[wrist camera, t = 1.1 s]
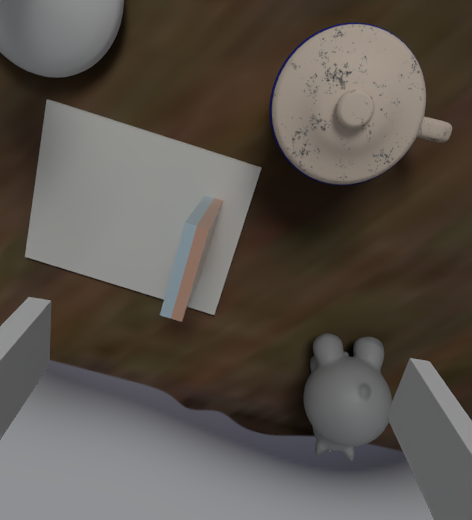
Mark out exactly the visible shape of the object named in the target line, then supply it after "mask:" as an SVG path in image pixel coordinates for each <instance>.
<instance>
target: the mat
mask: <svg viewBox="0 0 472 520" xmlns="http://www.w3.org/2000/svg"><path fill="white" fill-rule="evenodd" d="M261 168H262V167H259V166H255V165H252V164H249V163H246V162H243V161H240V160H237V159H234V158H230V157H227V156H224V155H221V154H218V153H215V152H212V151H209V150H205V149H202V148H199V147H196V146H193V145H190V144H187V143H184V142H180V141H177V140H174V139H171V138H168V137H165V136H162V135H159V134H156V133H152V132H149V131H146V130H143V129H140V128H137V127H134V126H131V125H127V124H124V123H121V122H118V121H115V120H112V119H109V118H106V117H102V116H99V115H96V114H93V113H90V112H87V111H84V110H81V109H77V108H74V107H71V106H68V105H65V104H62V103H59V102H56V101H52V100H46V108H45V115H44V122H43V130H42V137H41V144H40V151H39V159H38V166H37V173H36V181H35V188H34V195H33V202H32V210H31V217H30V224H29V231H28V239H27V246H26V253H25V257H27V258H31V259H34V260H37V261H40V262H44V263H47V264H50V265H53V266H57V267H60V268H63V269H66V270H70V271H73V272H76V273H79V274H83V275H86V276H89V277H92V278H96V279H99V280H102V281H105V282H109V283H112V284H115V285H118V286H121V287H125V288H128V289H131V290H134V291H138V292H141V293H144V294H147V295H151V296H154V297H157V298H160V299H164V298H165V294H166V291H167V287H168V283H169V280H170V276H171V272H172V269H173V265H174V261H175V257H176V254H177V250H178V246H179V243H180V239H181V235H182V232H183V228H184V224H185V222H186V220H187V219H188V217H189V216H190V215H191V213H192V212H193V211H194V209H195V208H196V207H197V205H198V204H199V203H200V201H201V200H202V198H203V197H204V196H205V195H207V196H210V197H213V198H216V199H220V200H223V204H222V207H221V210H220V214H219V217H218V220H217V224H216V227H215V231H214V234H213V237H212V241H211V244H210V247H209V251H208V254H207V257H206V261H205V264H204V267H203V271H202V274H201V277H200V279H199V282H198V284H197V286H196V289H195V291H194V294H193V296H192V299H191V301H190V303H189V306H188V307H190V308H193V309H196V310H199V311H203V312H206V313H209V314H212V315H214V314H215V311H216V308H217V305H218V302H219V299H220V296H221V293H222V289H223V286H224V283H225V280H226V277H227V274H228V271H229V268H230V265H231V261H232V258H233V255H234V252H235V249H236V246H237V243H238V240H239V237H240V233H241V230H242V227H243V224H244V221H245V218H246V215H247V212H248V209H249V205H250V202H251V199H252V196H253V193H254V190H255V187H256V184H257V181H258V177H259V174H260V171H261Z"/></svg>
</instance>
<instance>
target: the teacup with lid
mask: <svg viewBox="0 0 472 520" xmlns="http://www.w3.org/2000/svg"><path fill="white" fill-rule="evenodd" d="M425 107H426V87H425V81H424V77H423V73H422V70H421V68H420V65H419V63H418V61H417V59H416V57H415V56H414V54H413V53H412V51H411V50H410V49H409V48H408V46H407V45H406V44H405V43H404V42H403V41H402V40H401V39H399V38H398V37H397V36H395V35H394V34H392V33H391V32H389V31H387V30H385V29H383V28H380V27H378V26H374V25H371V24H365V23H344V24H338V25H334V26H331V27H328V28H325V29H323V30H321V31H319V32H317V33H315V34H313V35H312V36H310V37H308V38H307V39H306V40H305V41H303V42H302V43H301V44H300V45H299V46H298V47H297V48H295V50H294V51H293V52H292V53H291V54H290V55H289V57H288V58H287V59H286V61H285V62H284V64H283V65H282V67H281V69H280V71H279V73H278V75H277V77H276V80H275V83H274V86H273V89H272V94H271V99H270V123H271V128H272V132H273V136H274V139H275V141H276V143H277V146H278V148H279V149H280V151H281V153H282V154H283V156H284V157H285V158H286V160H287V161H288V162H289V163H290V164H291V165H292V166H293V167H294V168H295V169H296V170H297V171H299V172H300V173H302V174H303V175H305V176H306V177H308V178H310V179H312V180H315V181H317V182H321V183H324V184H330V185H354V184H358V183H362V182H366V181H369V180H371V179H373V178H376V177H378V176H379V175H381V174H383V173H384V172H386V171H388V170H389V169H390V168H392V167H393V166H394V165H395V164H396V163H397V162H398V161H400V159H401V158H402V157H403V156H404V155H405V154H406V153H407V151H408V150H409V149H410V147H411V146H412V144H413V142H414V141H415V139H416V137H418V138H423V139H427V140H432V141H436V142H441V143H442V142H446V141H447V140H448V139H449V137H450V134H451V132H452V126H451V125H450V124H449V123H447V122H444V121H440V120H436V119H432V118H428V117H424V113H425Z"/></svg>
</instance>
